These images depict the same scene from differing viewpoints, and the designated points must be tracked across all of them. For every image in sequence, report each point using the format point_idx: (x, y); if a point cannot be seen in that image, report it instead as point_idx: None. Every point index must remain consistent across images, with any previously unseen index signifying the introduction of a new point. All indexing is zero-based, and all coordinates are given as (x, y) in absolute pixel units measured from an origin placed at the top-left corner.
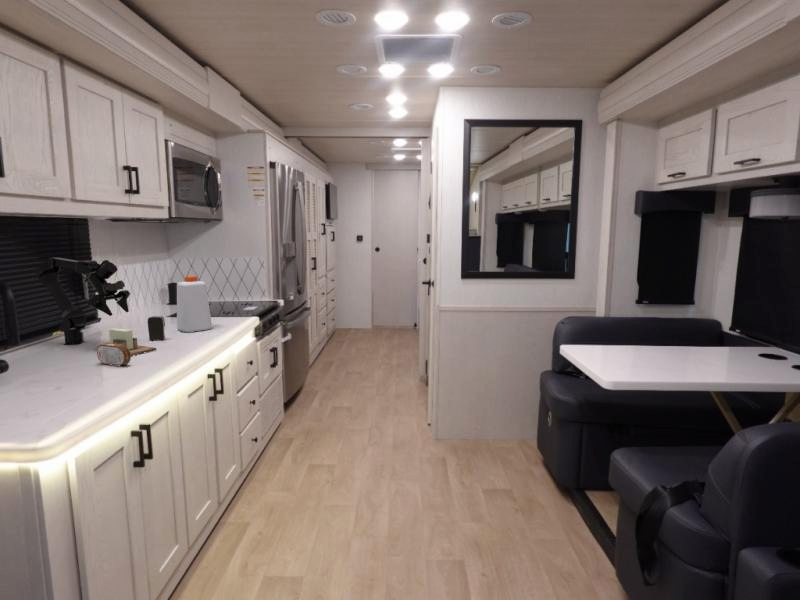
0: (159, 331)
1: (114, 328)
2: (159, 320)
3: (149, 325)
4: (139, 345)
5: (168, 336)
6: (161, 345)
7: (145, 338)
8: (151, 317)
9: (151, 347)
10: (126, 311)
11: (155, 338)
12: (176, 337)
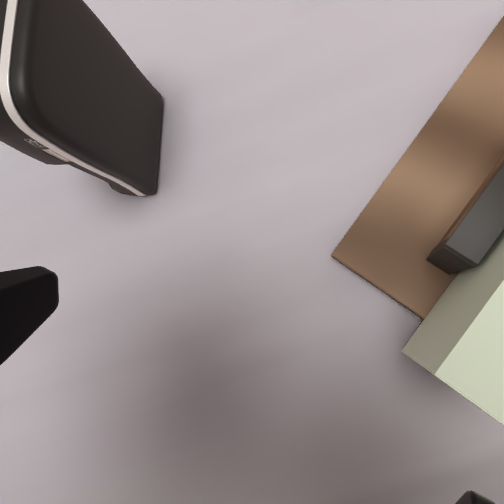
0: (130, 84)
1: (458, 383)
2: (66, 7)
3: (87, 136)
4: (392, 173)
5: None
6: (338, 45)
7: (68, 254)
8: (26, 65)
9: (490, 46)
10: (44, 311)
11: (154, 145)
12: None
